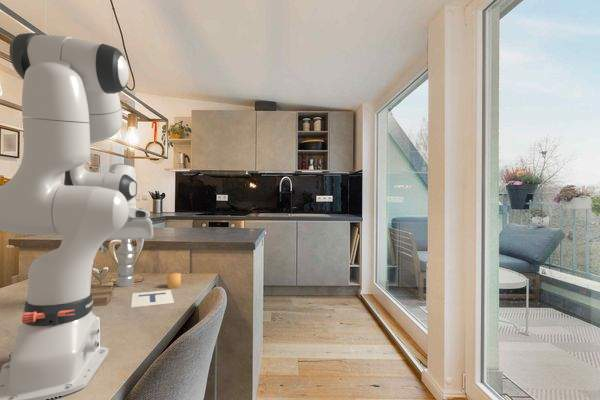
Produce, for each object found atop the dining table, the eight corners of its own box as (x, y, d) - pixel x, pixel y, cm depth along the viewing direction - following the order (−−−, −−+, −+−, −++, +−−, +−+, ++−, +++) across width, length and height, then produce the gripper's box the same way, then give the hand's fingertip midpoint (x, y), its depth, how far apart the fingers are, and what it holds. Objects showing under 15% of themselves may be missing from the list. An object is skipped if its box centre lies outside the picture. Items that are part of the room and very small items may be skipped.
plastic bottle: (126, 290, 122) (128, 239, 122) (111, 288, 123) (113, 238, 123) (138, 286, 128) (139, 237, 128) (123, 284, 129) (125, 236, 129)
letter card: (174, 305, 107) (174, 302, 107) (130, 310, 101) (130, 307, 101) (170, 292, 121) (170, 289, 121) (132, 296, 115) (132, 293, 115)
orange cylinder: (181, 290, 124) (181, 275, 124) (167, 291, 122) (168, 276, 122) (179, 287, 129) (180, 272, 129) (166, 288, 126) (167, 273, 126)
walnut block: (106, 309, 102) (107, 297, 102) (78, 311, 99) (78, 299, 99) (113, 300, 110) (113, 289, 110) (86, 302, 108) (87, 290, 108)
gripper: (83, 212, 99) (82, 255, 100) (154, 212, 109) (153, 252, 109) (86, 211, 105) (85, 252, 105) (153, 211, 114) (152, 249, 114)
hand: (120, 252), depth 107 cm, fingers open, 8 cm apart
